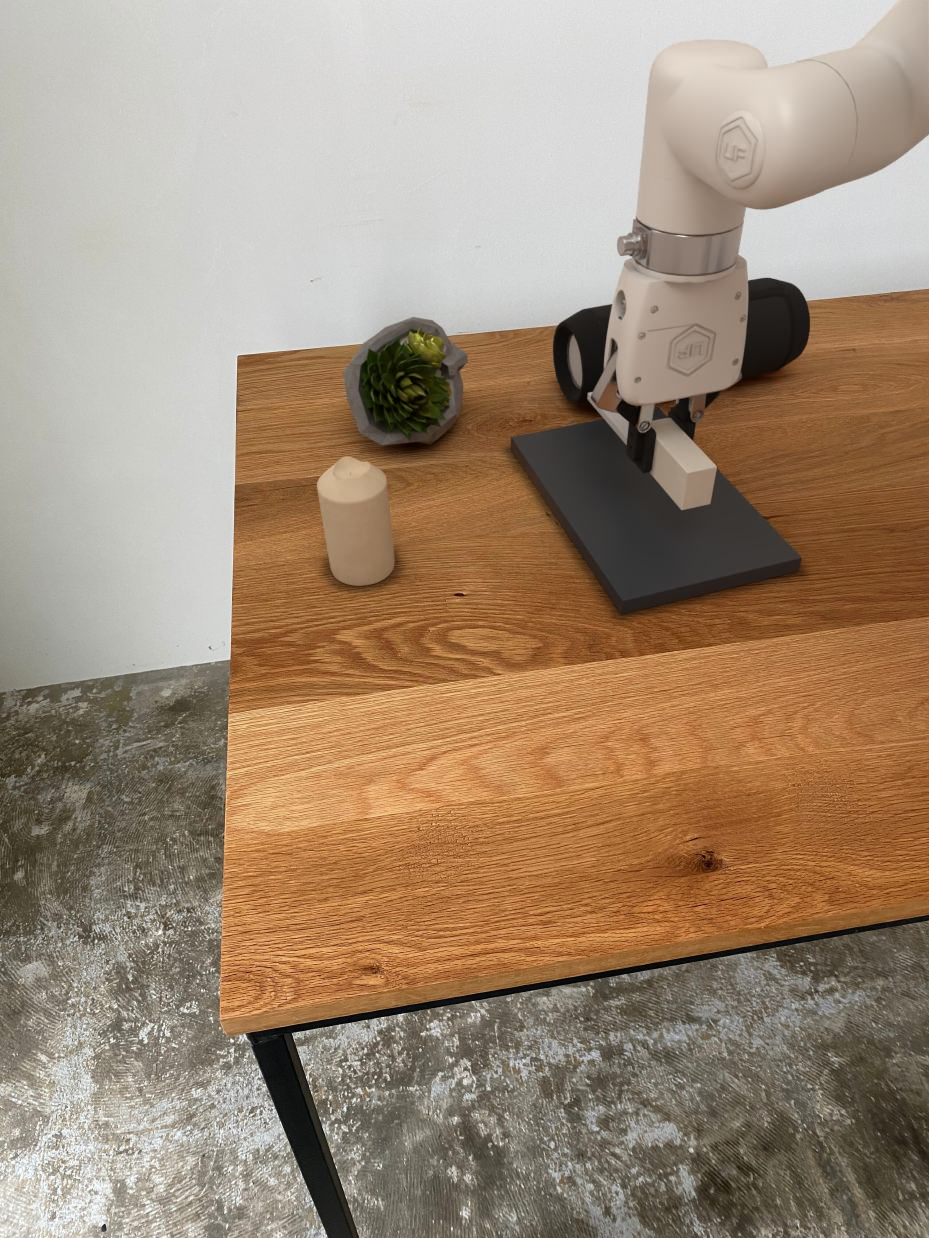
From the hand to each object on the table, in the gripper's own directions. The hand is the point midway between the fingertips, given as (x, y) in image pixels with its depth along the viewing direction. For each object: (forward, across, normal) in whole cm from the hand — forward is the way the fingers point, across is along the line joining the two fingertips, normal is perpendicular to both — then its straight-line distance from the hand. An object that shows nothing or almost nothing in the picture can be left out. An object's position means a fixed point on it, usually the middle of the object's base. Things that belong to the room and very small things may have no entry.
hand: (657, 459), depth 80 cm
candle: (+6, -26, +2) cm, 27 cm away
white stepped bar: (0, 0, +2) cm, 2 cm away
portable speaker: (+6, +13, +21) cm, 25 cm away
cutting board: (+6, 0, +2) cm, 6 cm away
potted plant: (+6, -16, +21) cm, 27 cm away
